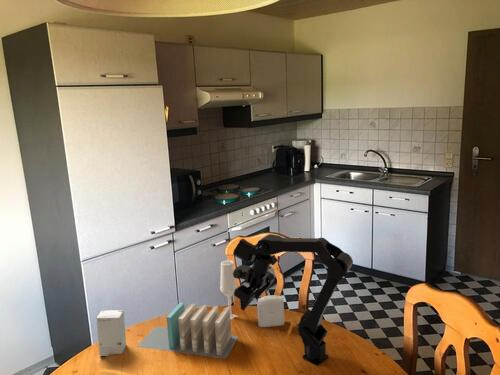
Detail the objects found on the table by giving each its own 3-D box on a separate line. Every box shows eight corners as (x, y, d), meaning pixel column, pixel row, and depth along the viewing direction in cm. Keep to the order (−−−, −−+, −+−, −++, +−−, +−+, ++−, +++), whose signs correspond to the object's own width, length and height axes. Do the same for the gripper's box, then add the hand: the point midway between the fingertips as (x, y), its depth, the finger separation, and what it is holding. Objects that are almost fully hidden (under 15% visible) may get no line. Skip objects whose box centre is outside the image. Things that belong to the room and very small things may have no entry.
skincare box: (99, 357, 145) (94, 318, 142) (104, 347, 151) (100, 310, 148) (123, 356, 145) (119, 317, 142) (128, 346, 151) (123, 308, 148)
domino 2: (197, 333, 155) (195, 303, 153) (185, 350, 145) (182, 318, 143) (193, 333, 156) (191, 303, 153) (180, 349, 145) (178, 318, 143)
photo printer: (258, 330, 158) (257, 300, 155) (257, 324, 162) (256, 294, 159) (285, 327, 158) (284, 297, 156) (283, 321, 163) (282, 292, 160)
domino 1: (186, 332, 157) (184, 302, 154) (173, 348, 146) (170, 317, 144) (182, 331, 157) (180, 302, 155) (169, 348, 147) (166, 317, 144)
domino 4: (220, 336, 153) (218, 306, 150) (209, 353, 142) (206, 321, 140) (216, 335, 153) (213, 305, 151) (204, 352, 143) (202, 321, 140)
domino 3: (208, 334, 154) (206, 305, 152) (197, 351, 144) (194, 320, 141) (204, 334, 154) (202, 304, 152) (192, 351, 144) (190, 319, 142)
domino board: (238, 338, 152) (238, 336, 152) (226, 361, 139) (226, 358, 139) (155, 328, 162) (155, 326, 162) (136, 349, 149) (136, 346, 149)
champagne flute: (218, 319, 167) (215, 262, 162) (231, 312, 171) (228, 258, 167) (229, 325, 162) (225, 267, 157) (242, 318, 167) (239, 262, 162)
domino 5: (231, 337, 151) (229, 307, 149) (221, 355, 141) (219, 322, 139) (227, 337, 152) (225, 306, 150) (216, 354, 142) (214, 322, 139)
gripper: (254, 248, 154) (245, 282, 160) (226, 267, 138) (216, 303, 144) (280, 262, 149) (269, 296, 155) (253, 284, 134) (242, 320, 140)
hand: (249, 303), depth 149 cm, fingers open, 9 cm apart
